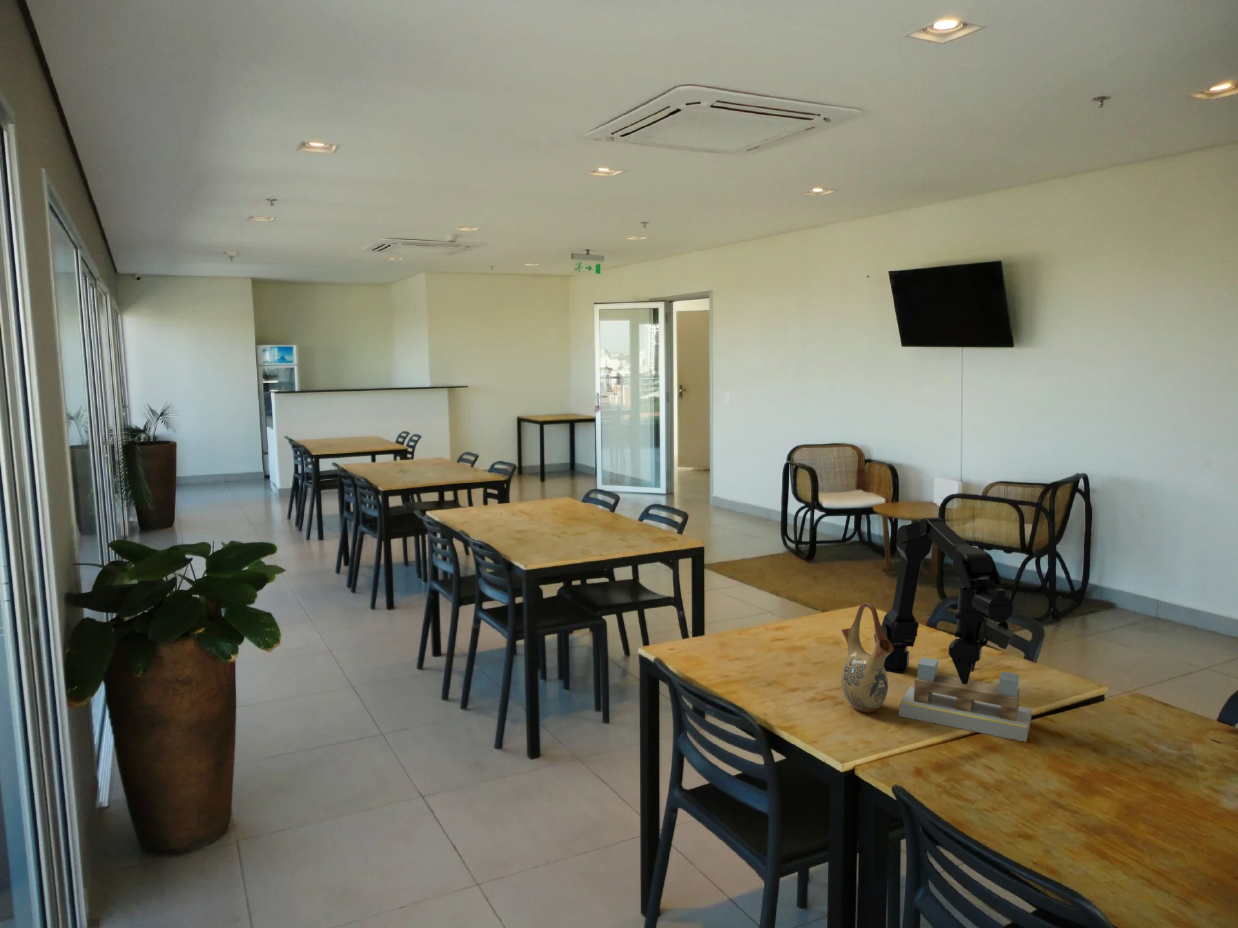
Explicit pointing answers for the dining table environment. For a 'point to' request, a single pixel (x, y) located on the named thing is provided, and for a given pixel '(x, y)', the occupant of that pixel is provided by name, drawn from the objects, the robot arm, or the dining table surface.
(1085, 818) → the dining table surface
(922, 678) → the grey small block
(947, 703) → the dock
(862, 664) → the ceramic vessel
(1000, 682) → the block
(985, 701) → the pallet
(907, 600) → the robot arm
